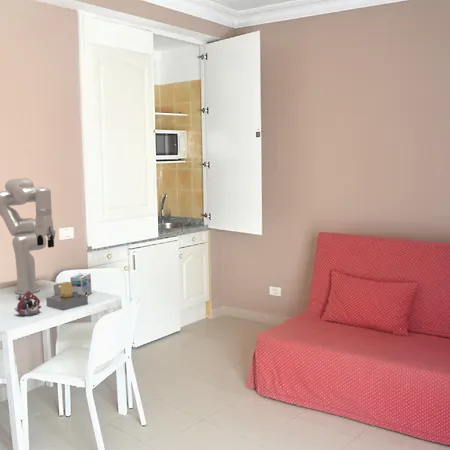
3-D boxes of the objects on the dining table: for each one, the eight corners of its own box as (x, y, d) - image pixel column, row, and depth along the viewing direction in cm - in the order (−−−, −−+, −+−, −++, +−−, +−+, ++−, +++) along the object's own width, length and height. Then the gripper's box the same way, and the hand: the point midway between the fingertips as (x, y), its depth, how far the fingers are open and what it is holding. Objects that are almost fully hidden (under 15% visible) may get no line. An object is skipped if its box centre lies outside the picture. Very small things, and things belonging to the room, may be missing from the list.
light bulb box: (83, 298, 284) (81, 277, 283) (71, 297, 286) (69, 277, 285) (92, 293, 295) (90, 273, 294) (80, 292, 296) (79, 273, 295)
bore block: (46, 305, 270) (46, 297, 270) (71, 299, 281) (70, 292, 280) (63, 310, 261) (62, 301, 261) (87, 303, 272) (87, 295, 271)
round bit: (54, 295, 292) (52, 284, 291) (66, 293, 295) (65, 282, 294) (56, 298, 286) (54, 286, 285) (68, 295, 289) (67, 284, 288)
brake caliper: (25, 313, 248) (15, 290, 251) (16, 325, 254) (6, 302, 258) (48, 308, 257) (38, 286, 260) (38, 319, 263) (28, 297, 266)
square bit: (61, 305, 271) (59, 283, 270) (68, 303, 274) (66, 281, 273) (65, 306, 268) (64, 284, 267) (73, 304, 271) (71, 282, 270)
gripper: (27, 212, 282) (29, 245, 285) (46, 214, 271) (48, 249, 273) (41, 210, 288) (42, 243, 290) (60, 213, 277) (61, 247, 279)
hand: (45, 246), depth 282 cm, fingers open, 9 cm apart
